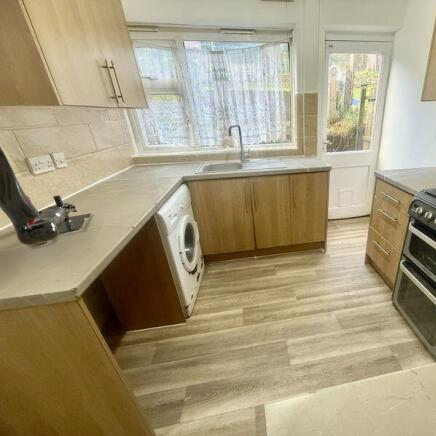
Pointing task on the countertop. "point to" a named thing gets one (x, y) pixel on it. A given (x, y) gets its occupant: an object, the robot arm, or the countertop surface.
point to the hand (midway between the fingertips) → (62, 205)
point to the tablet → (73, 223)
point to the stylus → (60, 203)
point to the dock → (40, 244)
